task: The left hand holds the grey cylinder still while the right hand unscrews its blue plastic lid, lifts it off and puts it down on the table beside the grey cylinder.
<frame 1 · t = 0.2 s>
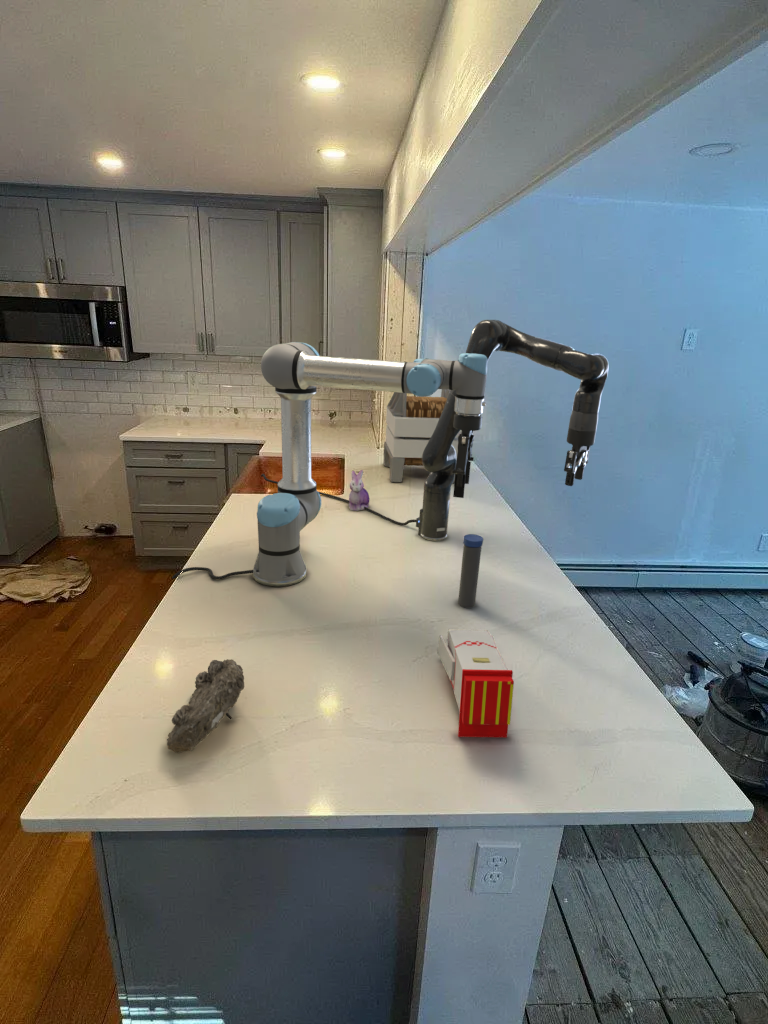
left hand: (461, 490, 158), 28 cm above the counter, tool pointing down, fingers open, 13 cm apart
right hand: (573, 482, 165), 29 cm above the counter, tool pointing down, fingers open, 8 cm apart
grey cylinder: (466, 603, 154), on the counter
lid: (473, 538, 148), point 19 cm above the counter, screwed on, not yet turned
toy: (469, 691, 119), on the counter
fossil: (212, 717, 108), on the counter
figurine: (358, 507, 224), on the counter
grey storage crate: (419, 473, 275), on the counter
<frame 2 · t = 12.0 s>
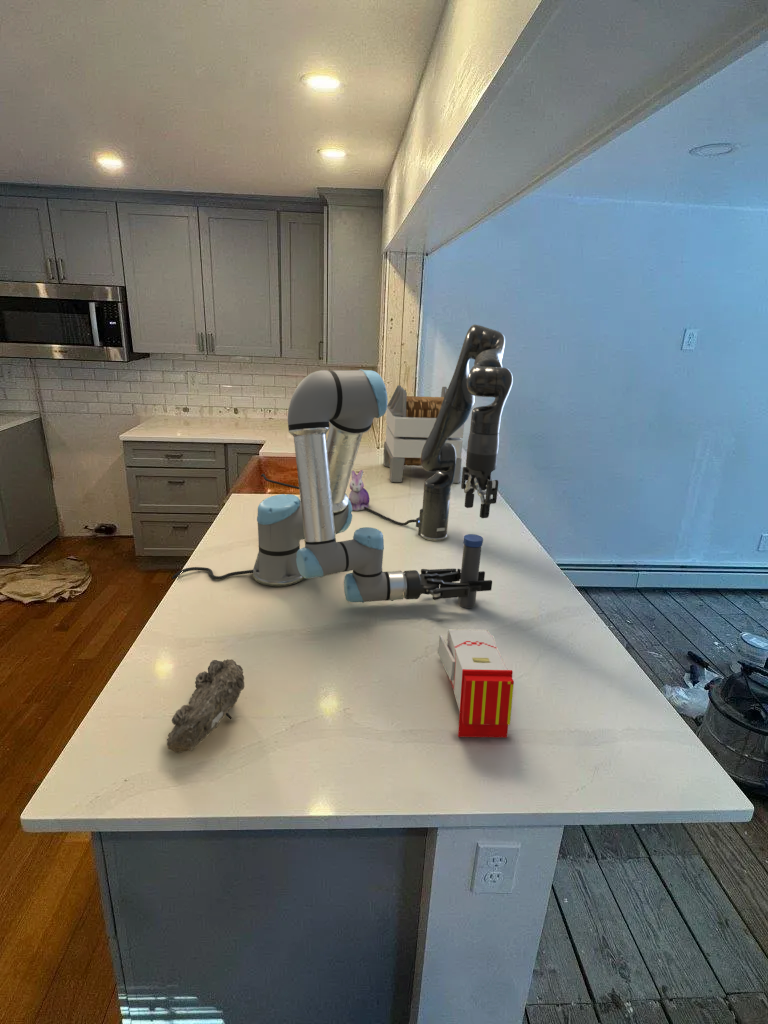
left hand: (487, 580, 153), 7 cm above the counter, tool horizontal, fingers closed on grey cylinder, 5 cm apart
right hand: (476, 512, 145), 27 cm above the counter, tool pointing down, fingers open, 7 cm apart
grey cylinder: (466, 603, 154), on the counter, touching left hand
everything else where it was.
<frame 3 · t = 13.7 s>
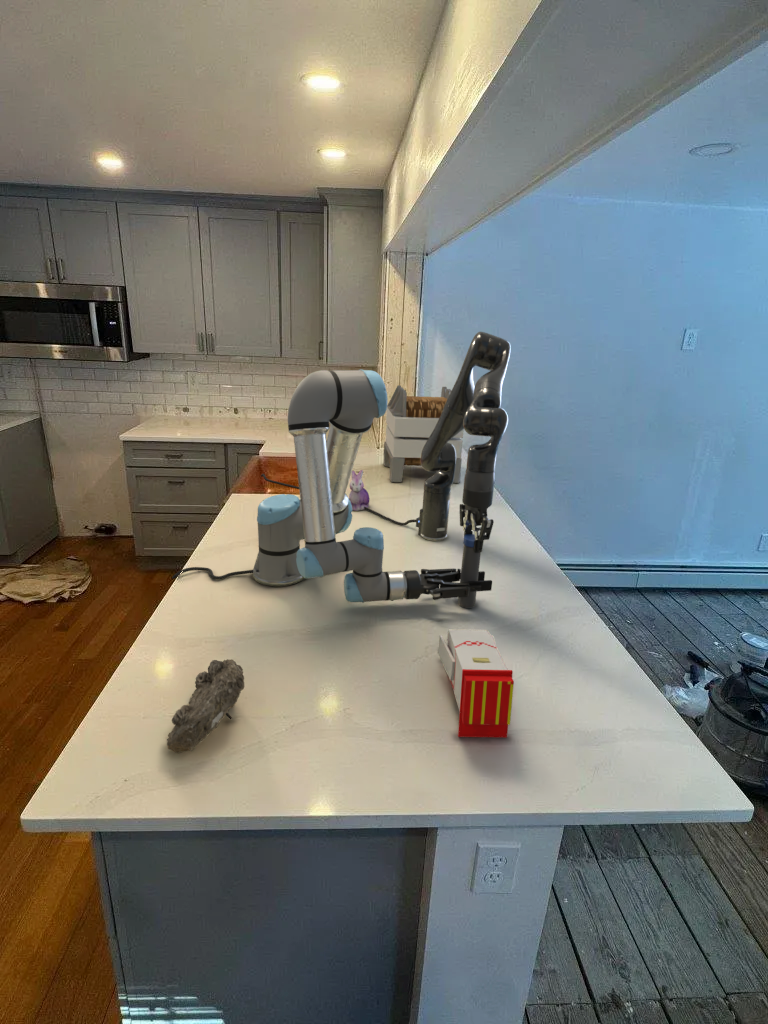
left hand: (487, 580, 153), 7 cm above the counter, tool horizontal, fingers closed on grey cylinder, 5 cm apart
right hand: (472, 548, 149), 17 cm above the counter, tool pointing down, fingers closed on lid, 5 cm apart
grey cylinder: (466, 603, 154), on the counter, touching left hand
lid: (473, 538, 148), point 19 cm above the counter, screwed on, not yet turned, touching right hand
everything else where it was.
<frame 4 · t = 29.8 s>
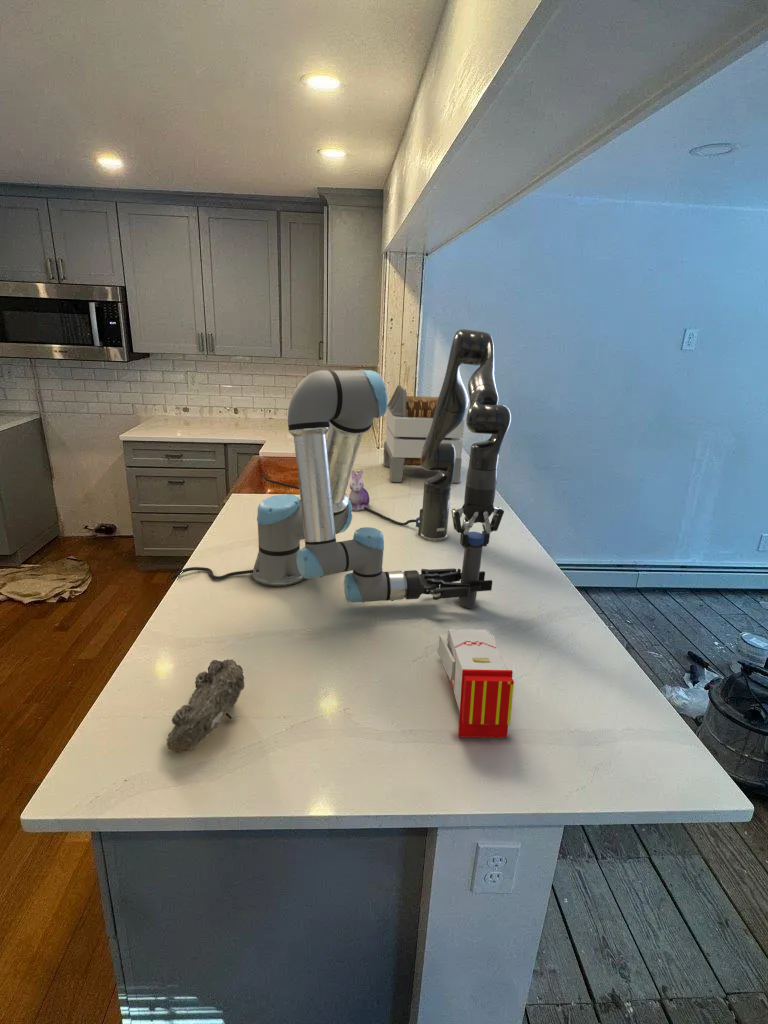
left hand: (487, 580, 153), 7 cm above the counter, tool horizontal, fingers closed on grey cylinder, 5 cm apart
right hand: (473, 545, 149), 17 cm above the counter, tool pointing down, fingers closed on lid, 5 cm apart
grey cylinder: (466, 603, 154), on the counter, touching left hand
lid: (474, 536, 148), point 20 cm above the counter, off its thread, touching right hand
everything else where it was.
when the right hand's fingers open (0 cm above the counter, at t = 35.8 s): lid drops 2 cm, point 1 cm above the counter.
when the left hand's fingers open (7 cm above the counter, at t = 36.7 s): grey cylinder stays where it is, on the counter.
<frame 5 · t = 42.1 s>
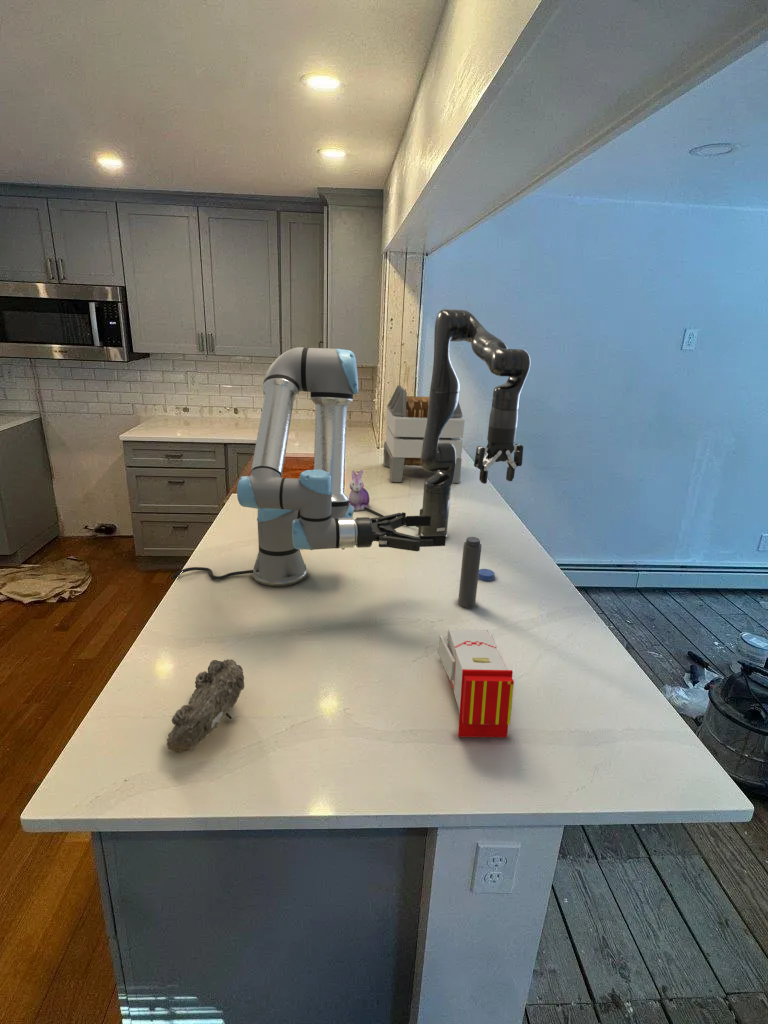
left hand: (437, 529, 145), 22 cm above the counter, tool horizontal, fingers open, 13 cm apart
right hand: (496, 481, 160), 30 cm above the counter, tool pointing down, fingers open, 8 cm apart
grey cylinder: (466, 603, 154), on the counter
lid: (485, 573, 170), point 1 cm above the counter, off its thread
everything else where it was.
at the end: lid came off its thread; lid point 1.3 cm above the counter; the left hand is holding nothing; the right hand is holding nothing; grey cylinder tilted 0°; grey cylinder moved 0.0 cm from its start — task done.
